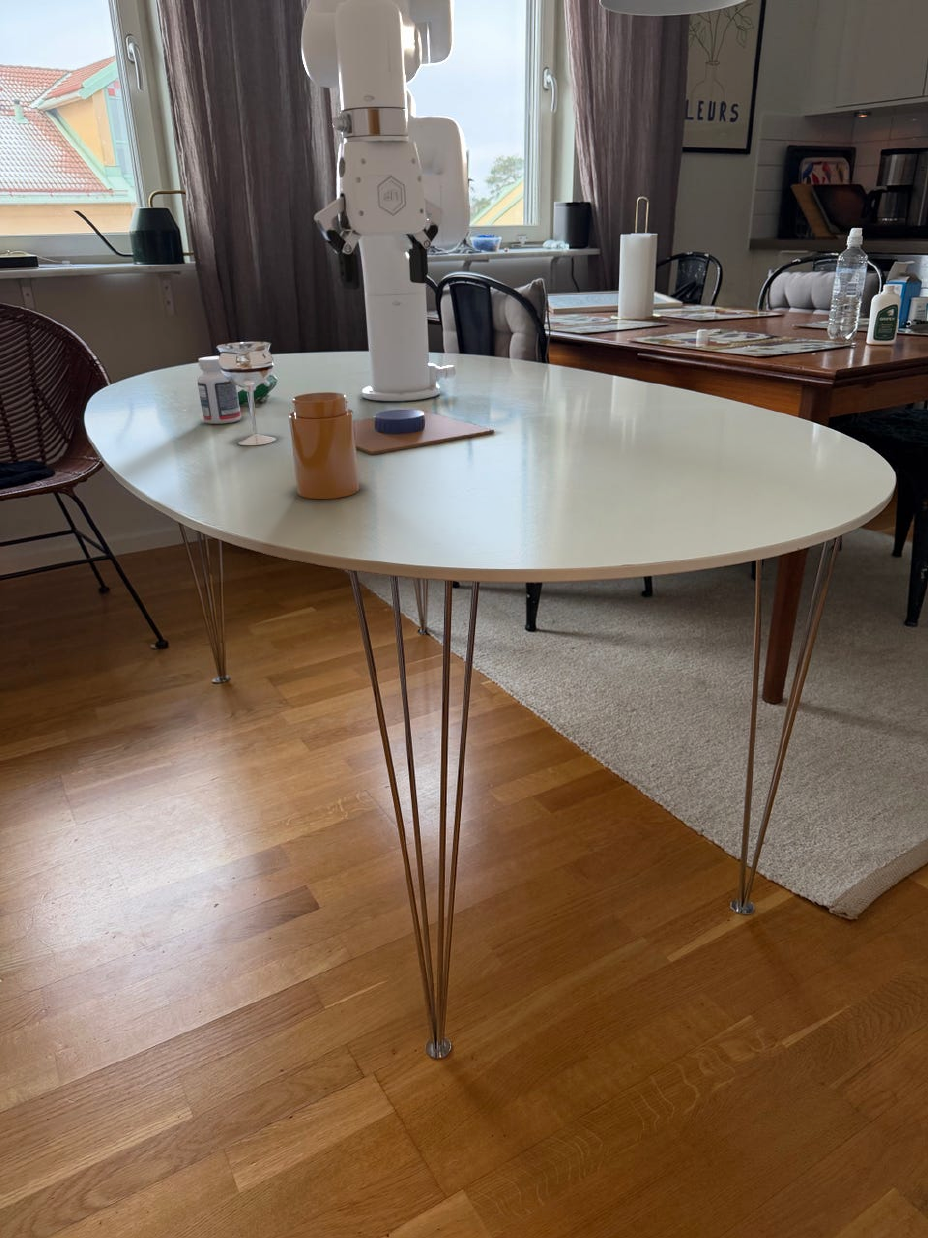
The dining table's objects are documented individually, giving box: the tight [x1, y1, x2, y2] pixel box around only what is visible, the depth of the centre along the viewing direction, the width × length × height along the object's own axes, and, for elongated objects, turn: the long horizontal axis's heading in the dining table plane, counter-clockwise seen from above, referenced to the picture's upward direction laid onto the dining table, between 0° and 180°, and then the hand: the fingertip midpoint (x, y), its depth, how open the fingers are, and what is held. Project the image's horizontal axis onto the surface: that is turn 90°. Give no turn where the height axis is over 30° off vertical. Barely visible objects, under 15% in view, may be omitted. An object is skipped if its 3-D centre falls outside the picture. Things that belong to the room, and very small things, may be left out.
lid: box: [374, 409, 425, 434], centre depth 113 cm, size 7×7×2 cm
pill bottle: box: [196, 355, 242, 425], centre depth 122 cm, size 5×5×9 cm
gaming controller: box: [237, 372, 278, 407], centre depth 138 cm, size 9×4×6 cm
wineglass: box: [216, 341, 277, 446], centre depth 109 cm, size 7×7×12 cm
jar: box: [288, 391, 361, 500], centre depth 87 cm, size 6×6×10 cm
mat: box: [354, 409, 495, 455], centre depth 114 cm, size 18×18×1 cm
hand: (385, 285), depth 107 cm, fingers open, 9 cm apart
